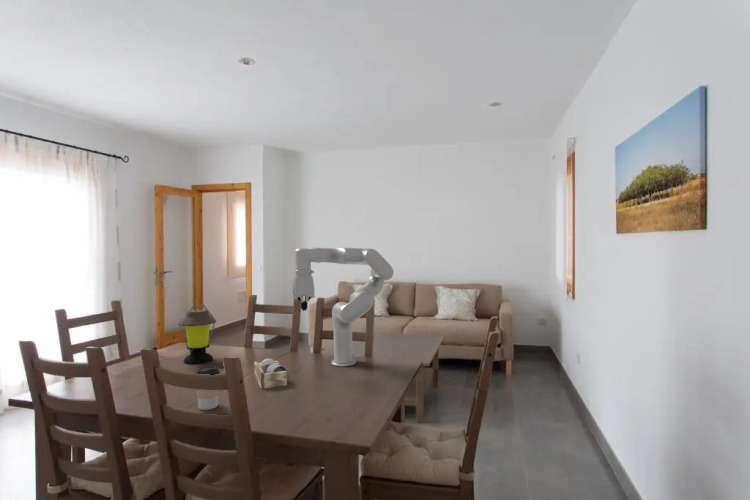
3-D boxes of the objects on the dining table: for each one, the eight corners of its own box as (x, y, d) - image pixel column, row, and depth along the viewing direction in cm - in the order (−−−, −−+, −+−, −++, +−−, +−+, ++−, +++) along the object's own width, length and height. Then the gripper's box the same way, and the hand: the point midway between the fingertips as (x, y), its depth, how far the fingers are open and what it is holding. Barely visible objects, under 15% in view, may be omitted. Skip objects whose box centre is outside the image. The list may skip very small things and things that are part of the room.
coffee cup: (191, 406, 170) (190, 367, 170) (214, 400, 176) (213, 363, 176) (201, 412, 164) (200, 372, 164) (224, 406, 170) (223, 367, 170)
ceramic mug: (279, 377, 206) (279, 361, 206) (288, 381, 200) (287, 364, 199) (258, 382, 199) (257, 365, 199) (266, 386, 193) (265, 369, 193)
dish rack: (278, 373, 213) (277, 358, 212) (286, 385, 194) (286, 369, 194) (254, 376, 208) (254, 361, 208) (261, 388, 190) (261, 372, 190)
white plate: (276, 374, 210) (276, 357, 210) (277, 375, 209) (276, 358, 209) (259, 376, 207) (259, 359, 207) (259, 377, 206) (259, 360, 206)
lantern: (212, 353, 255) (211, 301, 255) (228, 358, 242) (227, 304, 241) (168, 362, 237) (166, 306, 237) (183, 368, 224) (182, 309, 223)
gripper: (315, 272, 226) (316, 308, 226) (286, 273, 220) (287, 310, 220) (320, 273, 219) (320, 310, 219) (290, 274, 213) (291, 312, 213)
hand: (304, 310), depth 220 cm, fingers closed
